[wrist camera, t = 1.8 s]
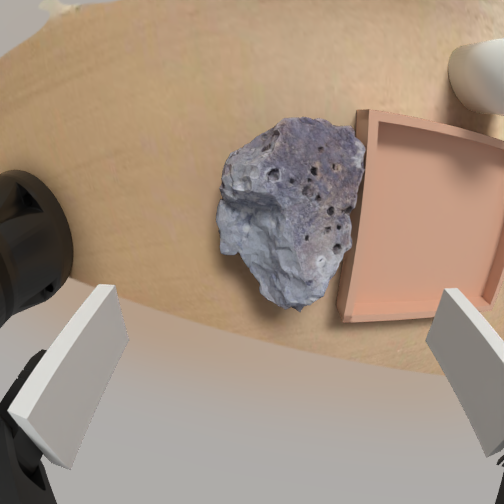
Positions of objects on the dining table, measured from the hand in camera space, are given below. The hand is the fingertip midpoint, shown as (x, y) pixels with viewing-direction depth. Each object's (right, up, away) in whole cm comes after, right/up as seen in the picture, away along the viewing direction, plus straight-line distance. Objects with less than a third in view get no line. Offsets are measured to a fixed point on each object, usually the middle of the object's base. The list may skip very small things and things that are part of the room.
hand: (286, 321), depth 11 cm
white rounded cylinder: (+20, +19, +9) cm, 29 cm away
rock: (+1, +7, +15) cm, 16 cm away
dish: (+17, +6, +15) cm, 23 cm away
